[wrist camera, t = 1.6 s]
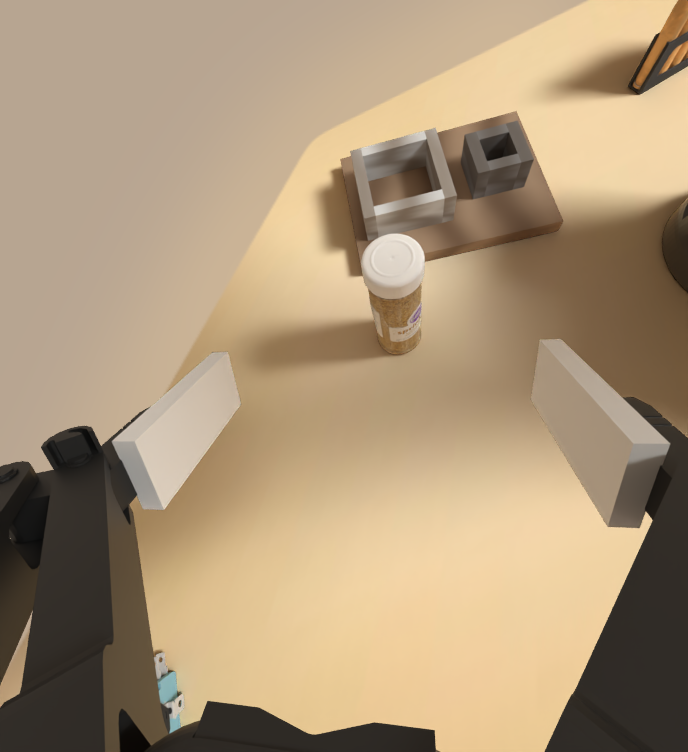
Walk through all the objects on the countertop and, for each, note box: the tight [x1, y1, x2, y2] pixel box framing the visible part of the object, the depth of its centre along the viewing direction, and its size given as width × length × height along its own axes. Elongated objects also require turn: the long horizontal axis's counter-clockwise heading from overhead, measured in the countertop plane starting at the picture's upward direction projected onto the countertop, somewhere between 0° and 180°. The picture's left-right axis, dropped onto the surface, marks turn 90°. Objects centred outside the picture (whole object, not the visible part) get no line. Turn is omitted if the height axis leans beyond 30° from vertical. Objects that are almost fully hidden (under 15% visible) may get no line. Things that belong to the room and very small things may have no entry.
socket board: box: [340, 112, 563, 269], centre depth 41 cm, size 21×16×5 cm
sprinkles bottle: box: [361, 234, 425, 354], centre depth 32 cm, size 5×5×14 cm
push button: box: [154, 652, 184, 734], centre depth 28 cm, size 7×5×10 cm
